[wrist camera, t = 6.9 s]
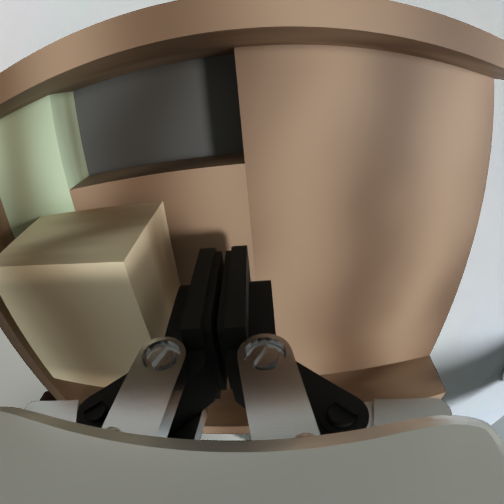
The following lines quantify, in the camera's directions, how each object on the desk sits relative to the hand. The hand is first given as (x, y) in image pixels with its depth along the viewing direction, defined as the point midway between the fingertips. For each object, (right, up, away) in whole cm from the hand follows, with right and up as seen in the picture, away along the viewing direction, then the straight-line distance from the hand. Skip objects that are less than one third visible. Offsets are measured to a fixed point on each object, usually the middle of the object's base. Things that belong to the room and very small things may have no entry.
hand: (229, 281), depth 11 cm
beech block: (-5, 0, +1) cm, 5 cm away
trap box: (0, +2, +3) cm, 3 cm away
